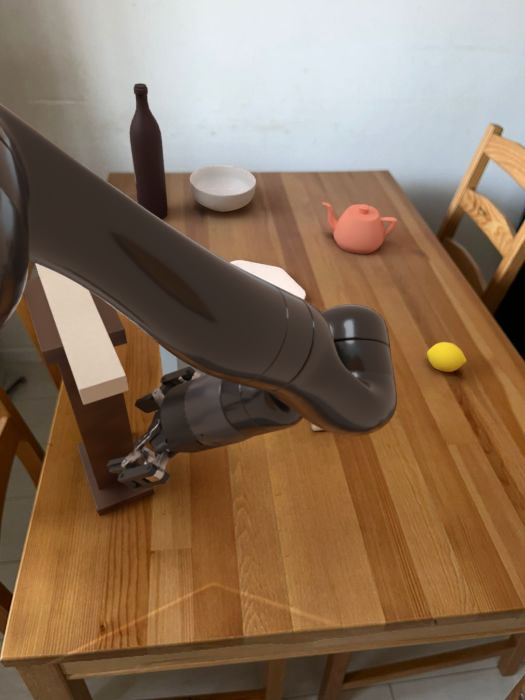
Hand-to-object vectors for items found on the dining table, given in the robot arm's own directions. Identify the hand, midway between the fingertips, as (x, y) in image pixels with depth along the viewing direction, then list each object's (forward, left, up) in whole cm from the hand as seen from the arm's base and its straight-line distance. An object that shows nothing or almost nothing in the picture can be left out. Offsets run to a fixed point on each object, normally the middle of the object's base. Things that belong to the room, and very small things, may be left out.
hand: (127, 436), depth 63 cm
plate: (+33, +34, -15) cm, 50 cm away
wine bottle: (+27, +74, -15) cm, 80 cm away
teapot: (+67, +44, -15) cm, 81 cm away
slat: (-2, +2, +17) cm, 17 cm away
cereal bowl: (+45, +72, -15) cm, 86 cm away
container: (+15, +16, -15) cm, 26 cm away
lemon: (+58, +2, -15) cm, 60 cm away
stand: (-2, +6, -15) cm, 16 cm away
